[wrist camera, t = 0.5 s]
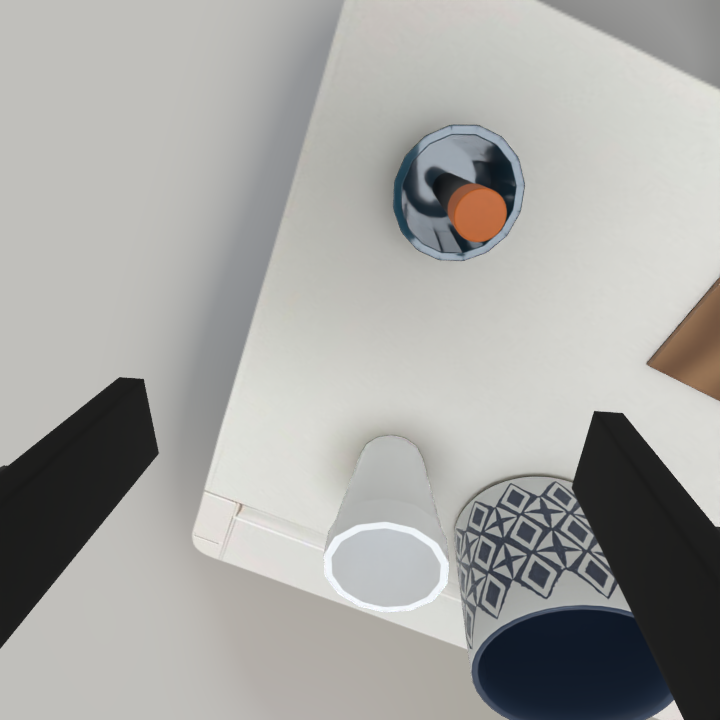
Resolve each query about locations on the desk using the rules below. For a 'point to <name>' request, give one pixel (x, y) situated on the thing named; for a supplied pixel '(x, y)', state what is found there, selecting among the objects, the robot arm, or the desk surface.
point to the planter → (548, 611)
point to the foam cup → (387, 532)
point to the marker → (470, 207)
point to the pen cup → (464, 159)
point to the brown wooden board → (695, 347)
